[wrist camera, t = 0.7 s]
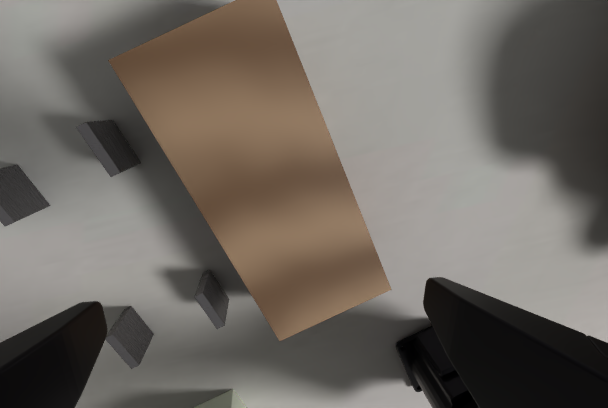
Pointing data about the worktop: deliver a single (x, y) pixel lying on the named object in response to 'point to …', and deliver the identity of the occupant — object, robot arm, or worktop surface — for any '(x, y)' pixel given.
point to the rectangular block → (224, 401)
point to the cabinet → (239, 169)
